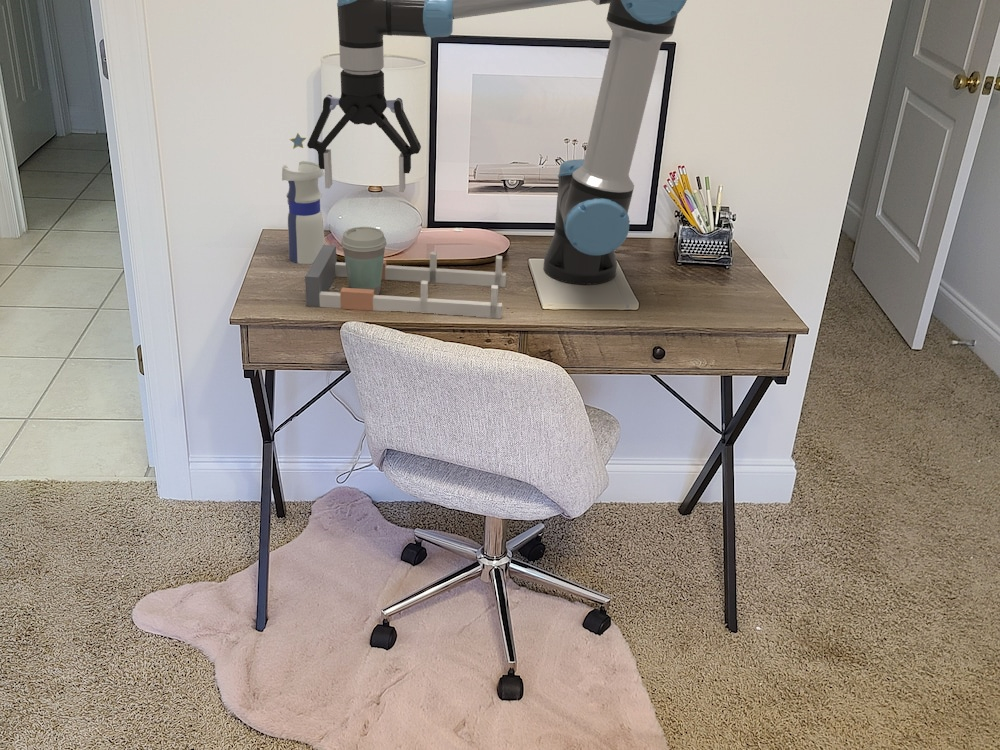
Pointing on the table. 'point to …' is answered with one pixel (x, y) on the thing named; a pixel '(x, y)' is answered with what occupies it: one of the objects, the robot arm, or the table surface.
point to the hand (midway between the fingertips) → (365, 188)
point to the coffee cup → (364, 257)
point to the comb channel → (365, 299)
